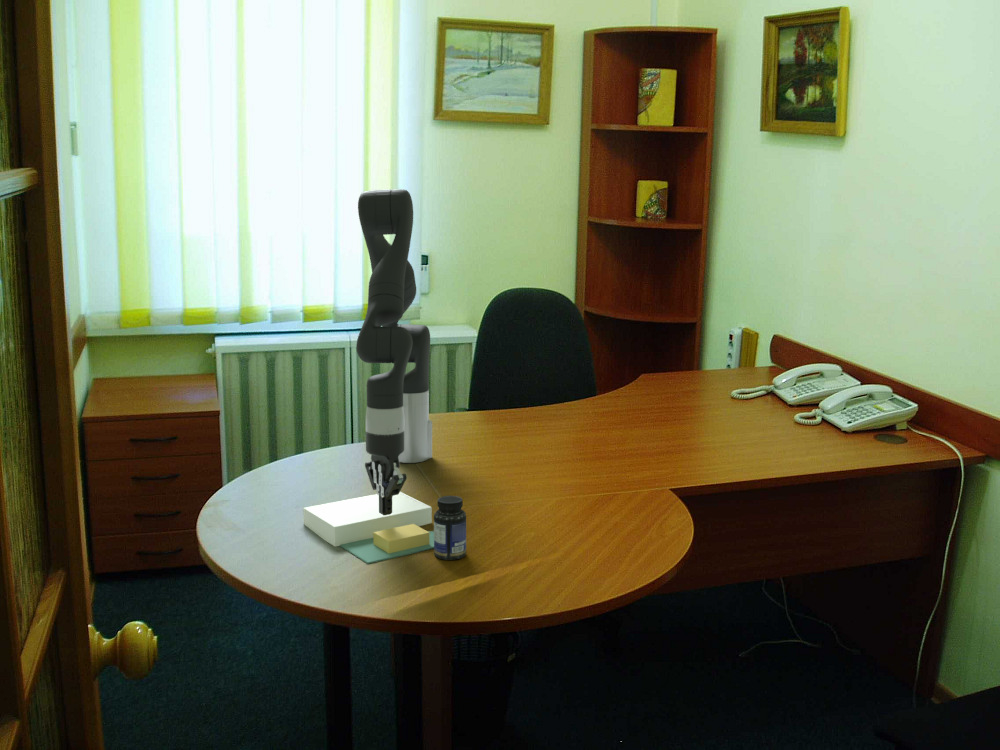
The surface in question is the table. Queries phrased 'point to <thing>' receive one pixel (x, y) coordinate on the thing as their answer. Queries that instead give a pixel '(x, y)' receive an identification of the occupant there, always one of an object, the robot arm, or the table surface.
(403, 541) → the cream yellow sponge block
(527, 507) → the table surface
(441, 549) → the pill bottle
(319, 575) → the table surface
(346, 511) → the white rectangular block
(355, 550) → the mat
